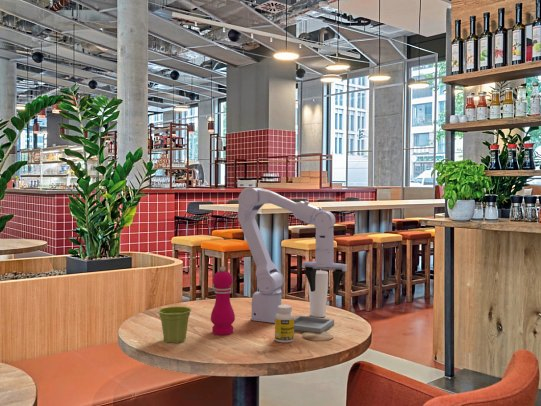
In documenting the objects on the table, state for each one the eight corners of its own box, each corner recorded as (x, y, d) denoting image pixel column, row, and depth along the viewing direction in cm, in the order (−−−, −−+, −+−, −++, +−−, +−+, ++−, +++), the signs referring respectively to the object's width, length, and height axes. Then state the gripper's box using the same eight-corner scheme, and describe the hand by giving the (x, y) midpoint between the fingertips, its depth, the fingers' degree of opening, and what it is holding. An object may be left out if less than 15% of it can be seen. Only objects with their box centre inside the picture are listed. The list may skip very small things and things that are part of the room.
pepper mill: (224, 327, 164) (224, 263, 163) (239, 332, 158) (239, 266, 158) (205, 332, 158) (205, 265, 158) (221, 337, 153) (221, 268, 153)
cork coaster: (297, 338, 152) (297, 336, 152) (309, 330, 160) (309, 329, 160) (326, 342, 148) (327, 341, 148) (337, 334, 156) (337, 333, 156)
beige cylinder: (327, 318, 175) (327, 273, 175) (306, 317, 176) (306, 273, 176) (328, 314, 182) (329, 270, 181) (309, 313, 183) (309, 269, 183)
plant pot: (152, 339, 151) (152, 309, 151) (182, 333, 157) (182, 304, 157) (166, 347, 144) (166, 315, 144) (197, 341, 149) (197, 310, 149)
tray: (283, 329, 162) (283, 323, 162) (299, 320, 172) (299, 315, 172) (320, 334, 156) (320, 328, 156) (334, 325, 167) (334, 319, 167)
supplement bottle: (279, 344, 147) (279, 309, 147) (271, 338, 152) (271, 305, 152) (297, 341, 149) (297, 307, 149) (288, 336, 154) (289, 303, 154)
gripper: (298, 249, 166) (298, 292, 167) (342, 252, 160) (342, 296, 160) (307, 247, 173) (306, 288, 173) (349, 249, 166) (349, 292, 167)
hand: (324, 292), depth 167 cm, fingers open, 7 cm apart
